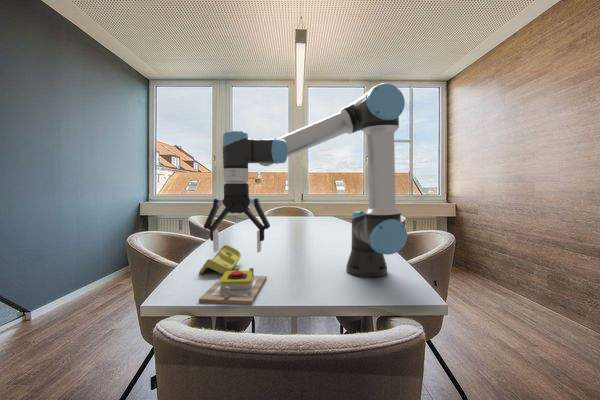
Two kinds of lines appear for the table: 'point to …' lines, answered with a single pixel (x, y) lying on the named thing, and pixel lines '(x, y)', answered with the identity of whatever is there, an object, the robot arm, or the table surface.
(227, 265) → the plastic component
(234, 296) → the nest plate
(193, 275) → the table surface
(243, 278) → the emergency button
